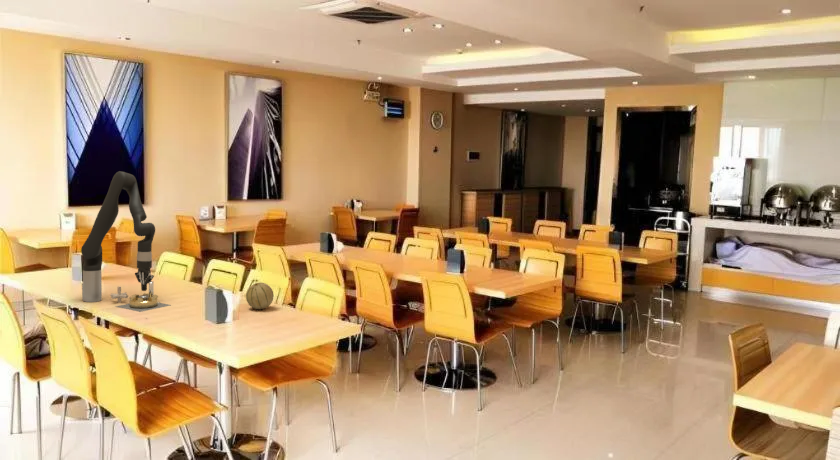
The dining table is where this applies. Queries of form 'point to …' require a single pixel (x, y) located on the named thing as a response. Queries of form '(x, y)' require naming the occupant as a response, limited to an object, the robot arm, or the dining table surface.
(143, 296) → the brass lugged hub
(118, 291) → the pipe connector
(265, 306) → the cantaloupe
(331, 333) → the dining table surface
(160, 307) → the base plate
